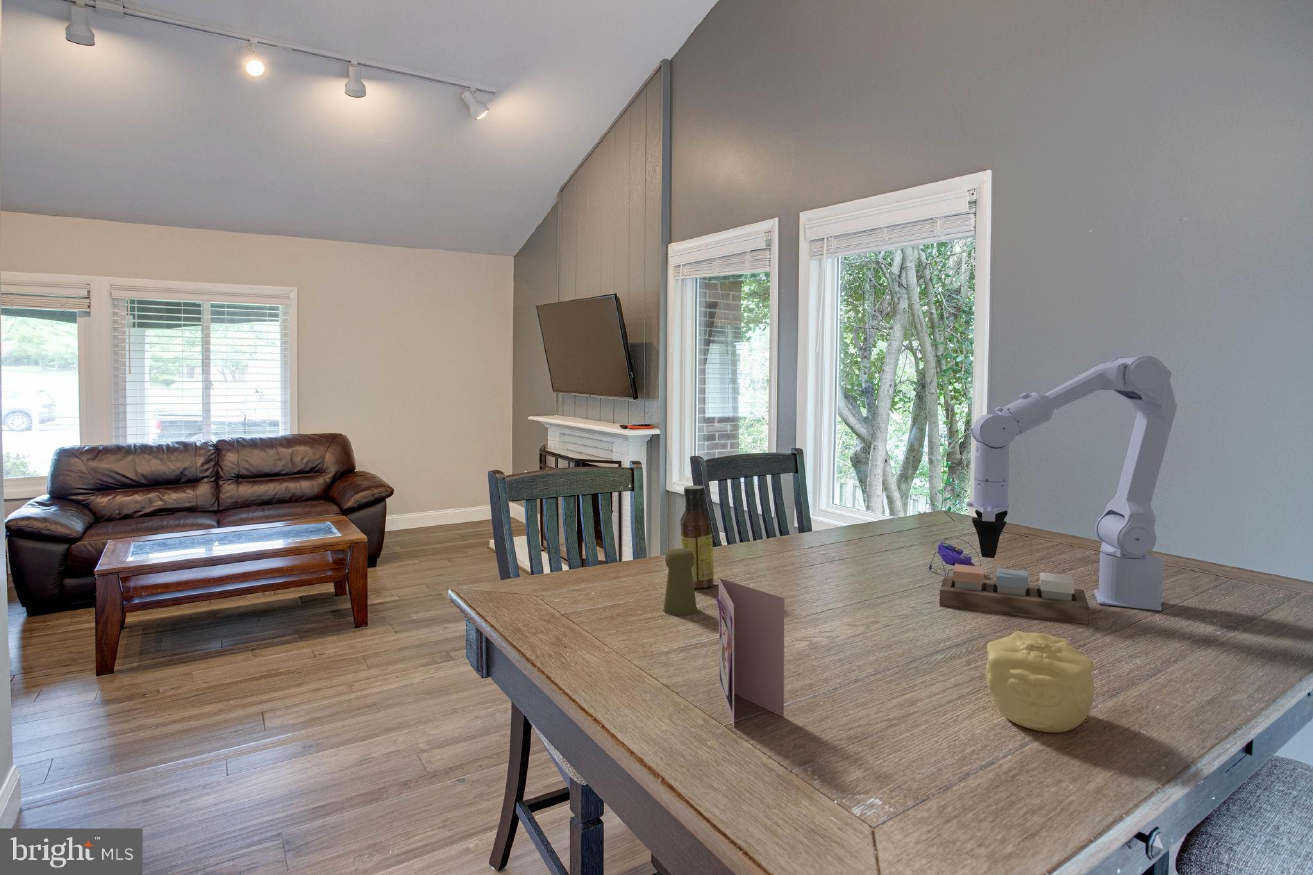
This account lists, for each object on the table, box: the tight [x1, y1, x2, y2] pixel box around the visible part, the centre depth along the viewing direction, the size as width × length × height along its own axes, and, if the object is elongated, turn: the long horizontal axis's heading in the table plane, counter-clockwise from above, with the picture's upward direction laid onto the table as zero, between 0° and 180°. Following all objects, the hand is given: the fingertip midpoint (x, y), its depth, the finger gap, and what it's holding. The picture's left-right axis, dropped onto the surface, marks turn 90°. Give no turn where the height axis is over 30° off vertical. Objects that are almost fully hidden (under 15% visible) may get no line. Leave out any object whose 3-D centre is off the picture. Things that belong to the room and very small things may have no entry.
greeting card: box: [713, 577, 785, 728], centre depth 92 cm, size 11×7×15 cm, turn 4°
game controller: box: [928, 537, 982, 576], centre depth 151 cm, size 10×8×10 cm
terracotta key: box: [952, 564, 986, 591], centre depth 132 cm, size 5×5×3 cm
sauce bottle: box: [679, 484, 715, 590], centre depth 143 cm, size 7×6×20 cm
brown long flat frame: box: [938, 574, 1090, 625], centre depth 129 cm, size 23×10×3 cm, turn 64°
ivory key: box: [1039, 572, 1075, 601], centre depth 126 cm, size 5×5×3 cm
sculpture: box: [985, 630, 1095, 734], centre depth 87 cm, size 11×12×11 cm
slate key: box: [995, 567, 1029, 596], centre depth 129 cm, size 5×5×3 cm
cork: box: [663, 547, 698, 617], centre depth 129 cm, size 6×6×11 cm
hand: (989, 552), depth 134 cm, fingers open, 7 cm apart
